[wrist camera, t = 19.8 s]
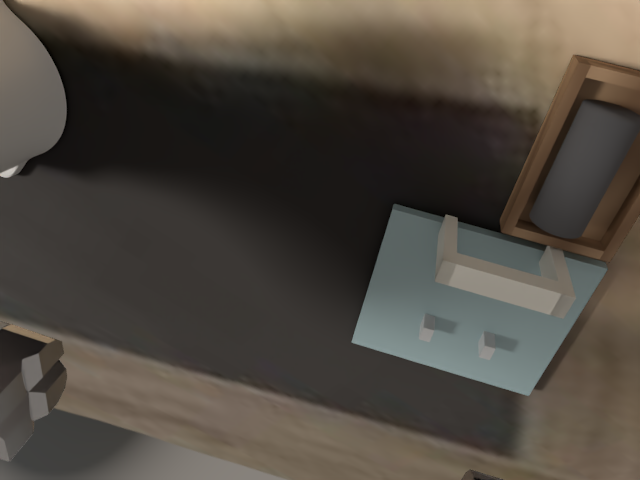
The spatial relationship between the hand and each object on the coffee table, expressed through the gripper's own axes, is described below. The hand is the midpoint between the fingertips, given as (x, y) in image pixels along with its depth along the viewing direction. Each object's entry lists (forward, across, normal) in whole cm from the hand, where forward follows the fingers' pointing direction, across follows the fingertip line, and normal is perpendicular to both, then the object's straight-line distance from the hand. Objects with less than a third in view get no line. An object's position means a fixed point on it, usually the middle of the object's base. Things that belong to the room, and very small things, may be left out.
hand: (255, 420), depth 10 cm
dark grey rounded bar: (+33, -15, +5) cm, 37 cm away
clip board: (+34, -11, +21) cm, 42 cm away
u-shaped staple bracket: (+33, -11, +13) cm, 37 cm away
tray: (+34, -15, +5) cm, 38 cm away
